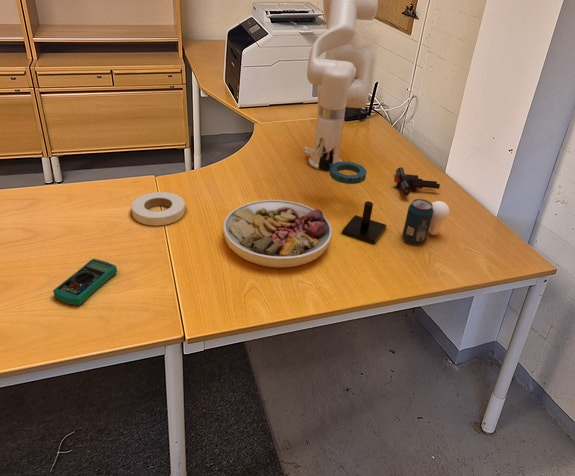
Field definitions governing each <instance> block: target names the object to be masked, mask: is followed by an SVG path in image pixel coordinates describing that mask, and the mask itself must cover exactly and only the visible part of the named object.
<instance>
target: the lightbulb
mask: <svg viewBox="0 0 575 476" xmlns="http://www.w3.org/2000/svg"><path fill="white" fill-rule="evenodd" d="M431 204H432V205H433V207H432V208H433V216H432V220H431V223H430V227H429V231H428V234H430V235H431V236H435V235H437V234H438V232H439V230H440V228H441V225H442V224H443V222H445V221H446V220H447V219H448V218H449V216H450V207H449V206H448V204H447V203H446V202H444V201H442V200H436V201H433V202H431Z"/></svg>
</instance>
